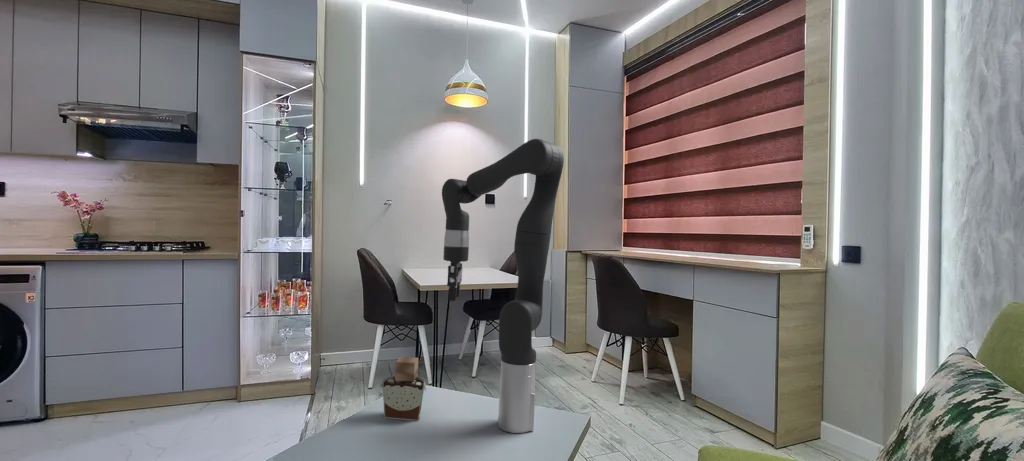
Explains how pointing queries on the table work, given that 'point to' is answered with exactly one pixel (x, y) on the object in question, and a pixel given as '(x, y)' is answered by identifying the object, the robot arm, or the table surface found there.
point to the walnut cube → (406, 369)
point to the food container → (403, 398)
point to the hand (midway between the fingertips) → (453, 298)
